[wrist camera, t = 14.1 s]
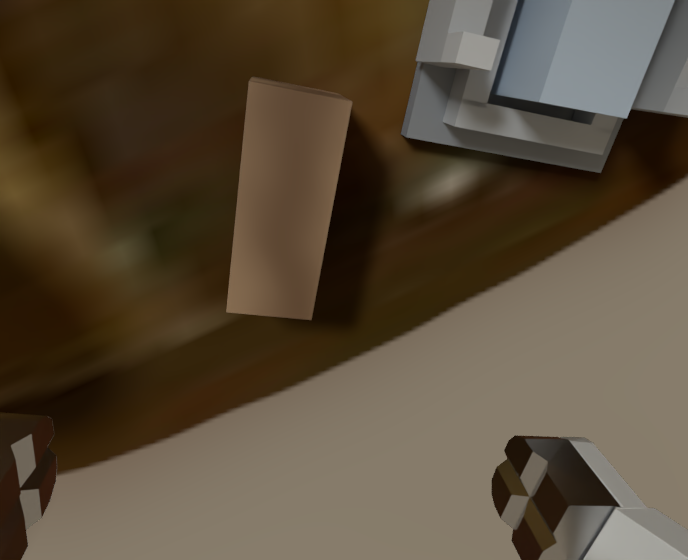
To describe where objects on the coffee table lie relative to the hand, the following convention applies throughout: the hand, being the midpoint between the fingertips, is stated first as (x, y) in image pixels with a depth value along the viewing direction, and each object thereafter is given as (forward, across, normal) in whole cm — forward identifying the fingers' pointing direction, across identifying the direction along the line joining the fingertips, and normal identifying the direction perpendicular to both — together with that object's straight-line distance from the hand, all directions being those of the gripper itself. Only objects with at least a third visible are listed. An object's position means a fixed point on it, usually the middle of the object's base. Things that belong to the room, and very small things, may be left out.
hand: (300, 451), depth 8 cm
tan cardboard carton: (+17, 0, 0) cm, 17 cm away
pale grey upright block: (+16, -11, -11) cm, 22 cm away
